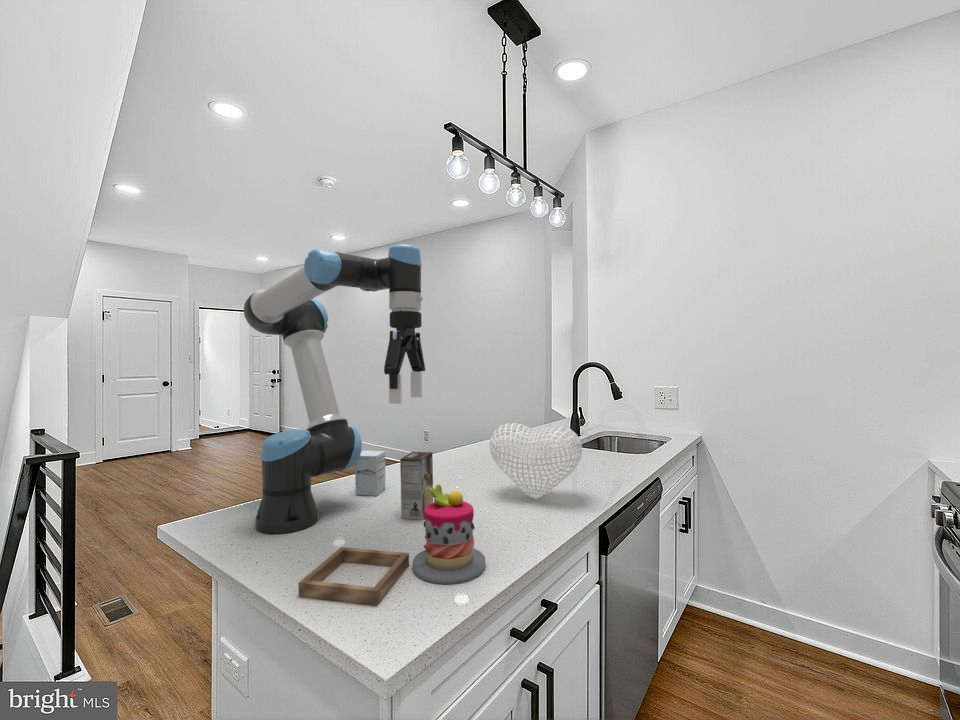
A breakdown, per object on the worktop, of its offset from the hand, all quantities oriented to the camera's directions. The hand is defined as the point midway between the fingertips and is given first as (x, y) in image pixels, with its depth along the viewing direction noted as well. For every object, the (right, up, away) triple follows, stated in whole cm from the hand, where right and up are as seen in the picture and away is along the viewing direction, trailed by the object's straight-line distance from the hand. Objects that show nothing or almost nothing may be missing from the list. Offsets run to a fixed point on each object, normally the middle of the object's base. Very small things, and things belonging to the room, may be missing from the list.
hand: (406, 400), depth 110 cm
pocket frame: (-6, -33, -20) cm, 39 cm away
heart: (+34, -32, +28) cm, 54 cm away
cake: (+11, -32, -15) cm, 37 cm away
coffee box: (0, -33, +16) cm, 36 cm away
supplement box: (-17, -32, +35) cm, 51 cm away
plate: (+11, -33, -15) cm, 38 cm away
